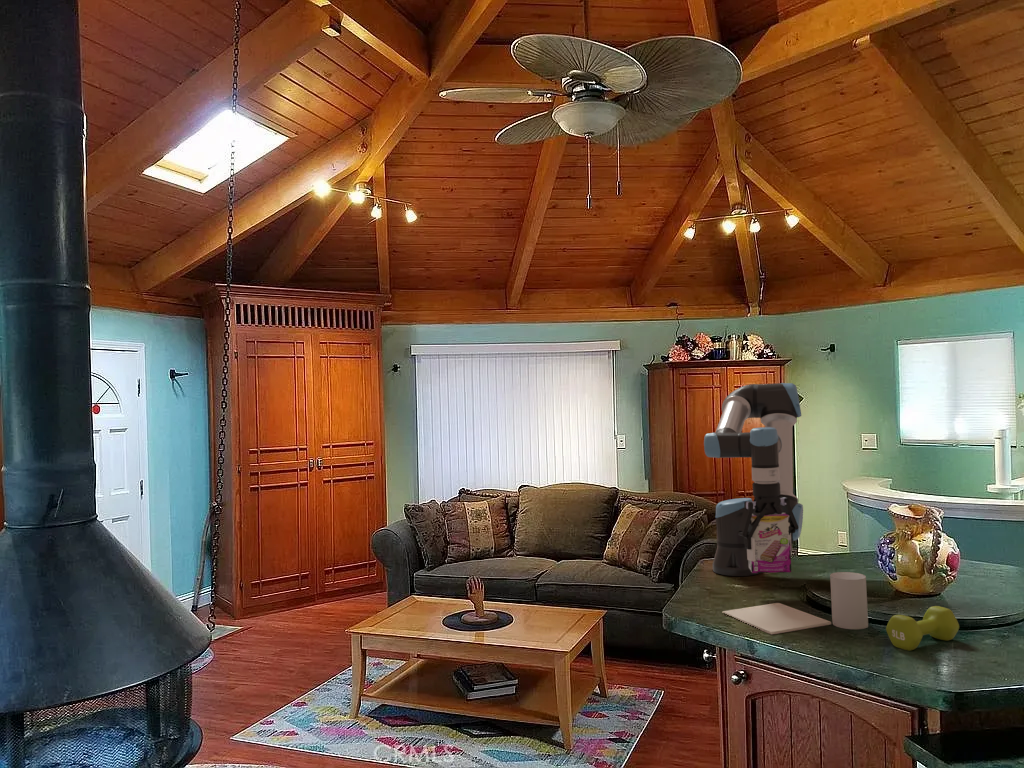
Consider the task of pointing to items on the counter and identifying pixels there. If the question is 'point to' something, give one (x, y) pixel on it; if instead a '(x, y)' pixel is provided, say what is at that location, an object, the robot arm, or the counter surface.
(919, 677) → the counter surface
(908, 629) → the dumbbell
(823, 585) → the counter surface
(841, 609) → the cup
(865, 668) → the counter surface
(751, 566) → the candy bar box
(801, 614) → the mat
